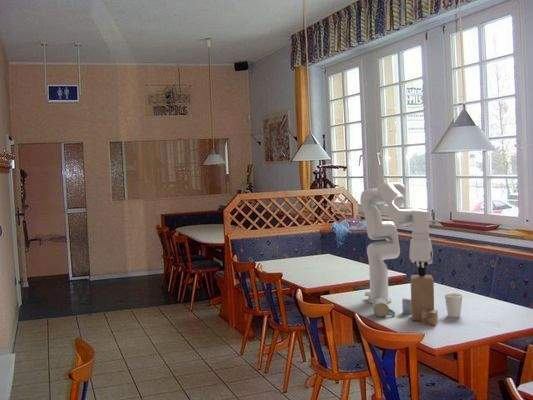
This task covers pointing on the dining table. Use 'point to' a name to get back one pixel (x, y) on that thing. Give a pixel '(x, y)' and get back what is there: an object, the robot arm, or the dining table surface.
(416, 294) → the block
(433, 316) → the walnut cube
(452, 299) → the dixie cup
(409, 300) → the bluegrey post
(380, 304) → the ceramic mug
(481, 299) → the dining table surface
